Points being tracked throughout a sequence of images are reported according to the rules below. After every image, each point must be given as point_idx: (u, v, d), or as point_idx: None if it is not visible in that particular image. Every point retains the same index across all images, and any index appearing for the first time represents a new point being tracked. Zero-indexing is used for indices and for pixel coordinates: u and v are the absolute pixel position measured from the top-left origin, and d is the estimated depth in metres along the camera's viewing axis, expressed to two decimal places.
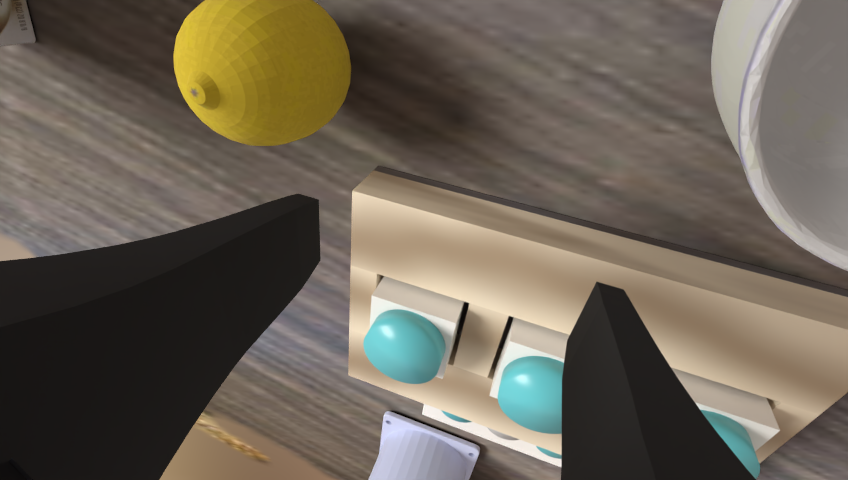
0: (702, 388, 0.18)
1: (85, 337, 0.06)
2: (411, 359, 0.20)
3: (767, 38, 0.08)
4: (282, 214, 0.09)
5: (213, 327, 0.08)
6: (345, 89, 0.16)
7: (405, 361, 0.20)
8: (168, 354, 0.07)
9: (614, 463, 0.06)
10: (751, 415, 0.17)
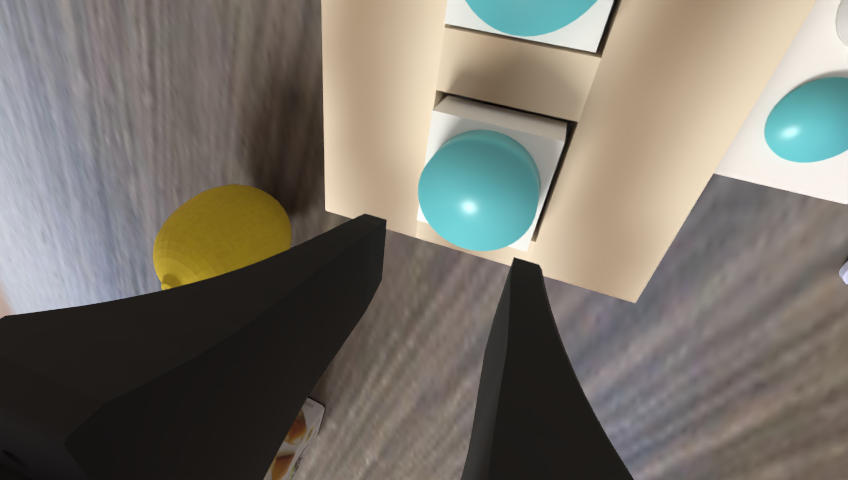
0: None
1: (202, 385, 0.05)
2: (476, 184, 0.13)
3: None
4: (359, 238, 0.09)
5: (297, 359, 0.08)
6: (241, 192, 0.20)
7: (483, 194, 0.13)
8: (262, 392, 0.07)
9: (487, 416, 0.06)
10: None
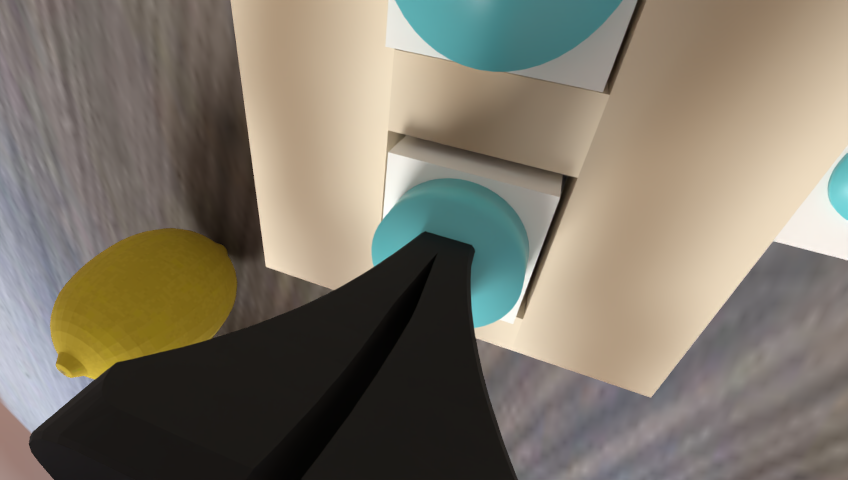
0: None
1: (315, 432, 0.05)
2: None
3: None
4: (429, 259, 0.08)
5: None
6: (167, 241, 0.16)
7: None
8: None
9: None
10: None
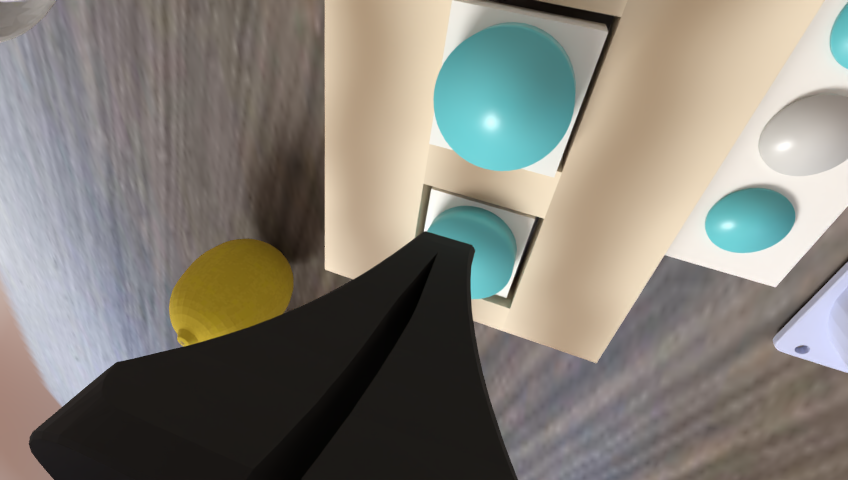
0: None
1: (315, 432, 0.05)
2: None
3: None
4: (430, 259, 0.08)
5: None
6: (248, 249, 0.22)
7: None
8: None
9: None
10: None
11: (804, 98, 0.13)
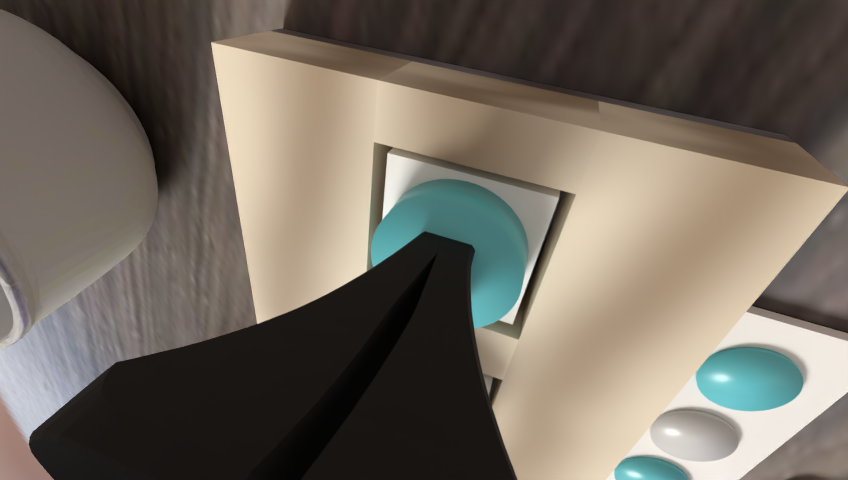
0: None
1: (314, 432, 0.05)
2: None
3: None
4: (429, 259, 0.08)
5: None
6: None
7: None
8: None
9: None
10: None
11: (681, 411, 0.15)
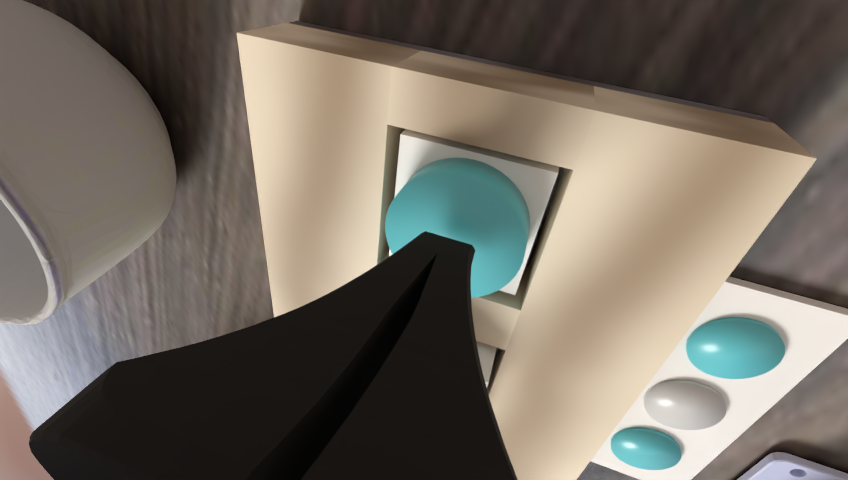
0: None
1: (315, 432, 0.05)
2: None
3: None
4: (430, 259, 0.08)
5: None
6: None
7: None
8: None
9: None
10: None
11: (673, 381, 0.16)
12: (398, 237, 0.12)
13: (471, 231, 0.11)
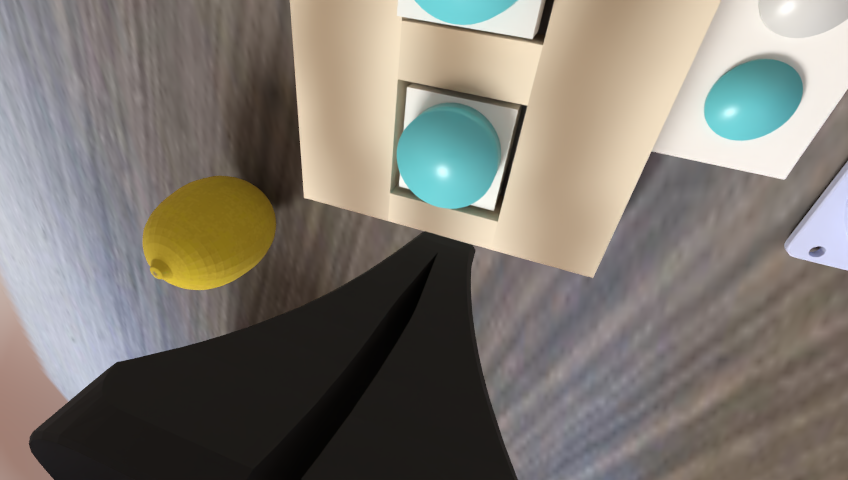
0: None
1: (315, 432, 0.05)
2: (445, 148, 0.16)
3: None
4: (429, 259, 0.09)
5: None
6: (225, 182, 0.21)
7: (451, 157, 0.16)
8: None
9: None
10: None
11: None
12: None
13: None
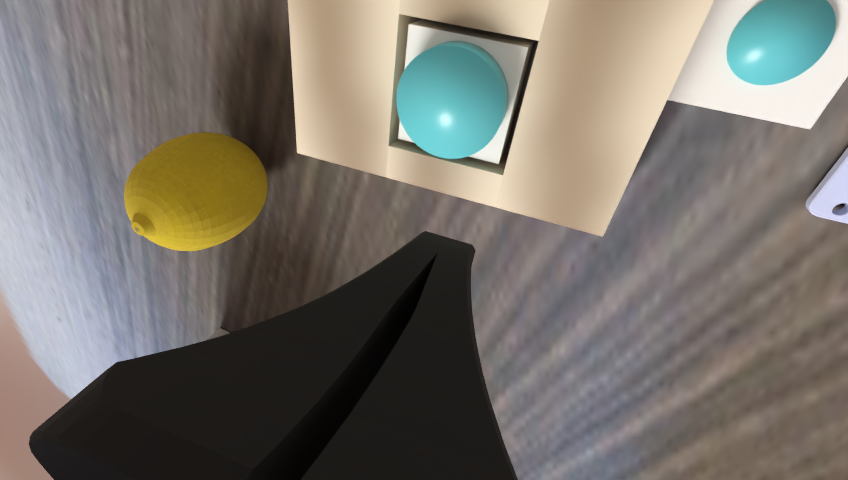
0: None
1: (315, 432, 0.05)
2: (449, 89, 0.14)
3: None
4: (429, 259, 0.08)
5: None
6: (214, 137, 0.20)
7: (455, 99, 0.15)
8: None
9: None
10: None
11: None
12: None
13: None
